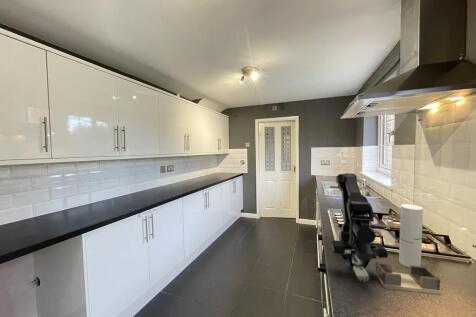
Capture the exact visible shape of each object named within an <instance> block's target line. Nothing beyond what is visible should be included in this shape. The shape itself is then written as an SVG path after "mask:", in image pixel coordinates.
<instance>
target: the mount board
mask: <svg viewBox="0 0 476 317" xmlns="http://www.w3.org/2000/svg"><path fill="white" fill-rule="evenodd" d="M392 273H393V274H400V275H401V286H396V285H387V284H384V283H383V281H382V280H381V278H380V277H379V276H378V274H377V273H376V270H374V275H375V276H376V277H377V279H378V281H379V282H380V283H381V285H382V287H383V288H384V289H389V290H390V289H391V290H399V291H406V292H414V293H415V292H417V293H425V294H434V295H441V294H442V293H441V292H442V291H441V289H440V290H432V289H423V288H421V287H420V286H419V285H418V284H417V282H416V281H415V280H414V279H413V278H412V277H411V276H410V275H409V273H403V272H393V271H392Z"/></svg>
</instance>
